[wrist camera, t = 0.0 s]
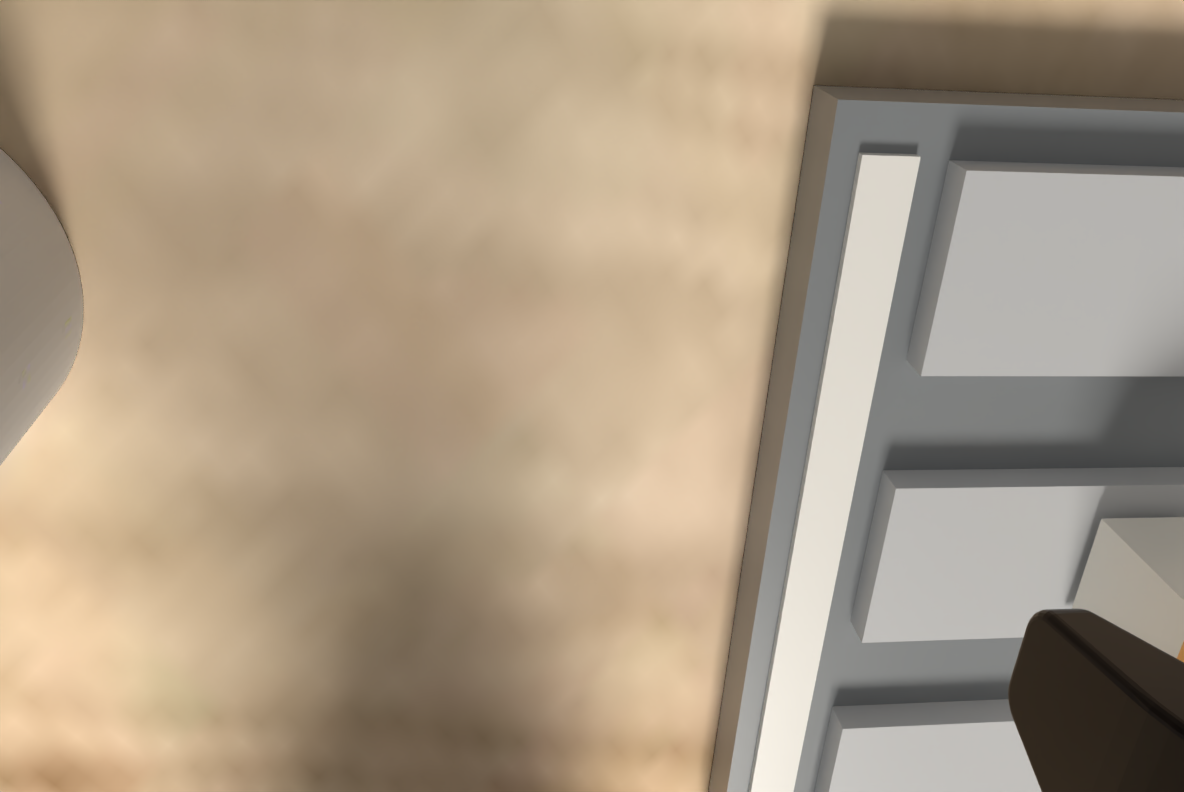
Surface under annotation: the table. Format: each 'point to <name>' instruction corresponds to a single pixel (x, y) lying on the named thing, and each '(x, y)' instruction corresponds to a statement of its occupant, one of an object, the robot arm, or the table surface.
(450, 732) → the table surface
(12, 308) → the grey cylinder
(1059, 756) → the robot arm
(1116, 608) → the toggle mid
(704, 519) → the table surface
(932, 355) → the panel
